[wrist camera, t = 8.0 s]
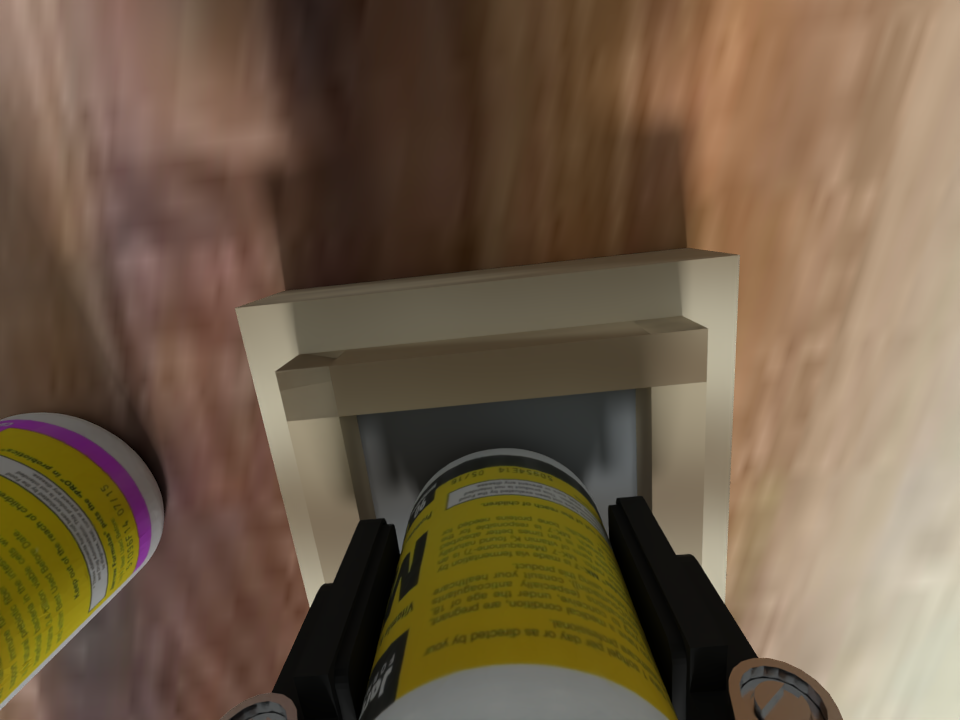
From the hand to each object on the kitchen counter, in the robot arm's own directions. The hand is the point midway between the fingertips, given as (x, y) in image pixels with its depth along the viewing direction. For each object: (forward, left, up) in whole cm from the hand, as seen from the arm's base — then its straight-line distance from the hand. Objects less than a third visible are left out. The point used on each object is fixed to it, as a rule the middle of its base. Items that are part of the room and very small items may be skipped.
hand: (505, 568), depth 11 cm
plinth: (0, 0, -5) cm, 5 cm away
